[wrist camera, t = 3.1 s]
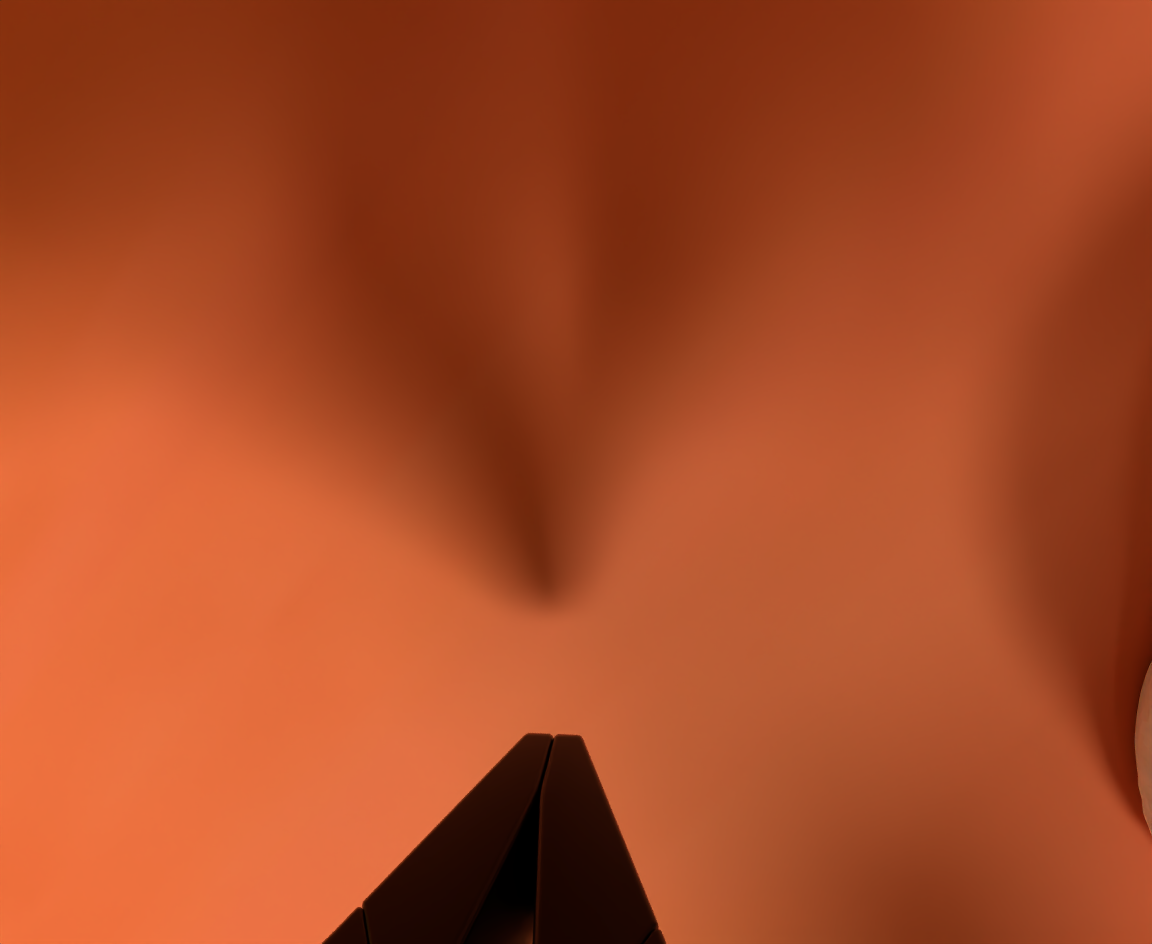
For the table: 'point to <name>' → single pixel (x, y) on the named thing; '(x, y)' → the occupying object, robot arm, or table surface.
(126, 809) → the table surface
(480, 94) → the table surface
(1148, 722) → the ramekin
